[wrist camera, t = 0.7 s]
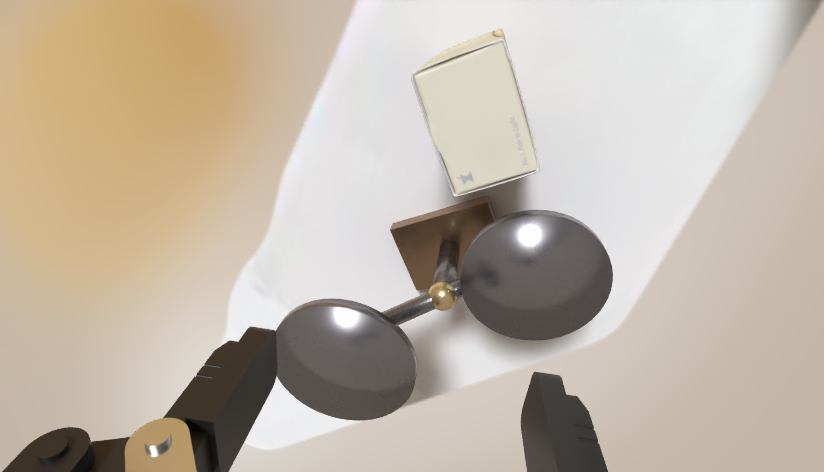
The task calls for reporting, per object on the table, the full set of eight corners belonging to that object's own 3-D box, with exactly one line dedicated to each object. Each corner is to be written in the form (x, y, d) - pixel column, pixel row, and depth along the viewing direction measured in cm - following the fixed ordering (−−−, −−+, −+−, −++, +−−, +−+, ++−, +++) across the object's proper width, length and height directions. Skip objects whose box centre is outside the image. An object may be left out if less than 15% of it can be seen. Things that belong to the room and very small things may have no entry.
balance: (570, 151, 31) (616, 233, 20) (595, 256, 35) (647, 377, 23) (316, 228, 37) (243, 325, 26) (359, 311, 41) (311, 428, 30)
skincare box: (525, 117, 31) (546, 176, 20) (464, 137, 32) (453, 202, 21) (500, 23, 28) (509, 34, 18) (436, 49, 30) (407, 74, 19)
